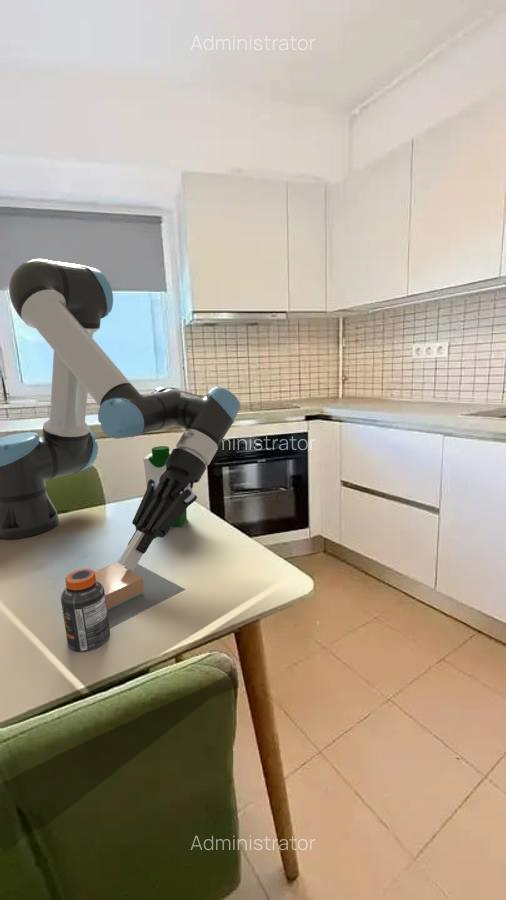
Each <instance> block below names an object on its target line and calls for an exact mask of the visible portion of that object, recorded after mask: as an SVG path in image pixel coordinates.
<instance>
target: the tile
mask: <svg viewBox="0 0 506 900" xmlns="http://www.w3.org/2000/svg"><path fill="white" fill-rule="evenodd" d="M124 567H125V566H123V565H121V564H119V563H118V562H115V563H112V564H110V565H107V566H105V567H103V568H100V569H98V570H95V571H94V572H95V577H96V581H98V582H99V583H101V584H102V585H103V587H104V593H105V600H106V607H107V611H109V610H111V609H113V608H115V607H117V606H119V605H121V604H123V603H125V602H127V601H129V600H131V599H133V598H135V597H138V596H140V595H142V594H143V592H144V584H143V578H142V577H140V576H138V575H136V574H135V573H133V572H131V571H129V570H128V569H126V568H124Z"/></svg>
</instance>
